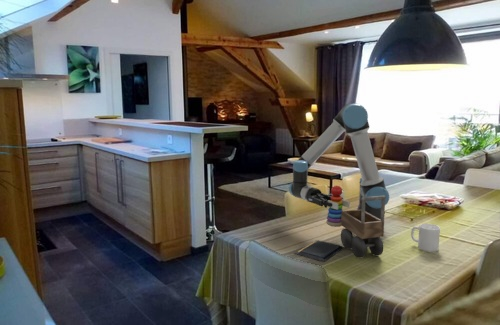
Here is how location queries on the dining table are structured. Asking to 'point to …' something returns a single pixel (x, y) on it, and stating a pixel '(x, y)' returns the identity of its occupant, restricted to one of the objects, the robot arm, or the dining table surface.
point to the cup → (427, 237)
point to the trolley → (363, 229)
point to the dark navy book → (319, 250)
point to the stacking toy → (334, 214)
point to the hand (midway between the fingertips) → (343, 205)
